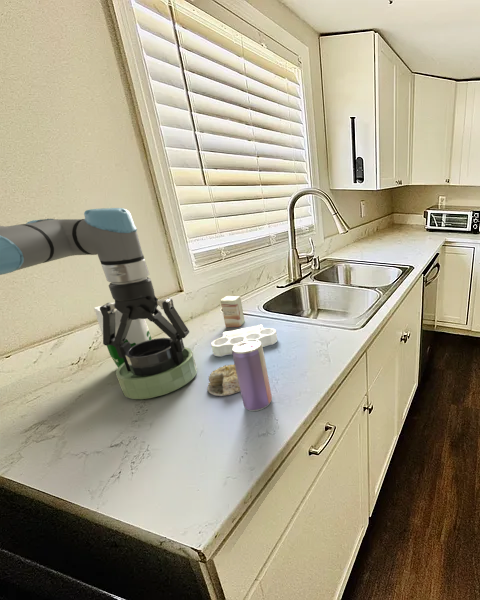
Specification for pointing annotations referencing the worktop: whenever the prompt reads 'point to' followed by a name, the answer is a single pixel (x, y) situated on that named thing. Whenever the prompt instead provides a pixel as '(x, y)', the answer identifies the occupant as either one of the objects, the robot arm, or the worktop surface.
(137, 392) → the green bowl
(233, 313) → the small white box
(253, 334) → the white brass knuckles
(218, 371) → the cake
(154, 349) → the charcoal bowl
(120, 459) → the worktop surface
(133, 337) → the milk carton
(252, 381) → the beverage can
